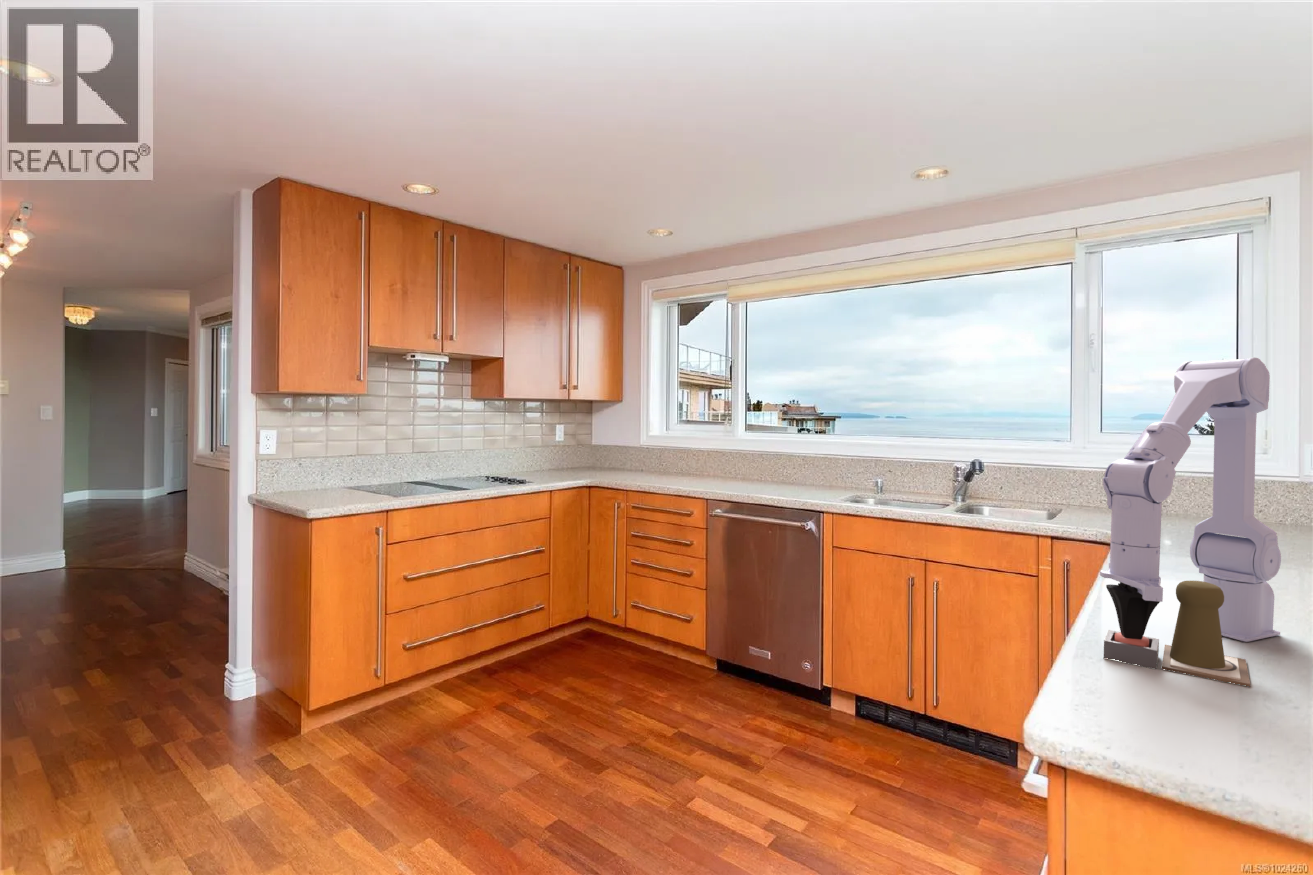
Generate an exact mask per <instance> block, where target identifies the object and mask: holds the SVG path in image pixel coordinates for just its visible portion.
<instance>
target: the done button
mask: <svg viewBox="0 0 1313 875" xmlns="http://www.w3.org/2000/svg"><path fill="white" fill-rule="evenodd" d="M1119 632H1120V633H1115V641H1116V642H1121V643H1127V644H1132V645H1137V646H1143V647H1148V648H1149V639H1148V638H1146V637H1147V636H1145V637H1144V635H1143V638H1142V639H1130V638H1125V637H1123V636H1122V634H1121V631H1119Z"/></svg>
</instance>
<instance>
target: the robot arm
mask: <svg viewBox="0 0 1313 875" xmlns="http://www.w3.org/2000/svg"><path fill="white" fill-rule="evenodd" d="M1270 377H1271V376H1270V371H1269V370H1268V367H1267V365H1266V364H1265V363H1264V362H1263V361H1262V360H1261V359H1260V358H1259V357H1248V358H1240V359H1222V360H1219V359H1218V360H1205V361H1204V360H1203V361H1191V360H1189V361H1184V362H1182V363H1181V364H1180V365H1179V367H1178V368H1177V369H1176V372H1175V374H1174V377H1173V385H1174V386H1173V387H1174V392H1175V394H1174V396H1173V397H1172V399H1171V401H1170V404H1169V405H1168V407H1167V408H1166V410H1165V413H1164V415H1163V417H1161V420H1160V421H1158V422H1152V423H1151V424H1149V425H1147V426H1146V427H1145V428H1144V430H1143V431H1142V432H1141V434H1140V436H1139V437H1138V439H1137V440H1136V441H1135V442H1134V444H1133V445H1132V447H1131V448H1130V449H1129V451H1128V452H1127V453H1126V454H1125V456H1124V458H1118V459H1116V460H1115V461H1113V462H1111V463H1110V464H1108V466H1107V467H1106V469H1105V471H1104V476H1103V478H1102V486H1103V490H1104V492H1105V494H1106V499H1107V501H1106V505H1107V508H1108V509H1109V510H1111V515H1110V516H1111V522H1110V524H1111V525H1110V549H1109V550H1110V553H1109V563H1108V570H1100V571H1099V576H1101V578H1104V579H1111V580H1114V581H1116V582H1119V583H1118V584H1112V583H1111V584H1106V585H1105V587H1106V589H1107V592H1108V593H1109V595H1110V597H1111V600H1112V603H1113V605H1114V608H1115V611H1116V616H1117V621H1118V626H1119V632H1121V634H1122V636H1123V637H1125V638H1130V639H1142V638H1143V636H1144V634H1145V632H1146V629H1147V626H1148V623H1149V620H1150V618H1151V615H1152V613H1153V612H1154V610H1155V609H1156V608H1157V606H1158V605H1159V603H1162V602H1163V599H1164V595H1163V594H1164V593H1163V592H1164V588H1163V587H1162V586H1161V579H1162V577H1161V576H1160V563H1161V560H1160V557H1161V537H1162V536H1161V532H1162V504H1163V502H1165V501H1166V500H1167V499H1168V498H1169V496H1170V495H1171V493H1172V490H1173V487H1174V485H1173V484H1174V479H1175V478H1176V474H1177V471H1176V466H1177V465H1178V464H1179V463H1180V461H1181V459H1182V458H1183V456H1184V455H1185V453H1186V452H1187V451H1188V449H1189V448H1190V446H1191V437H1190V436H1189V434H1188V433H1189V432H1190V431H1191V429H1193V428H1194V426H1195V425H1196V424H1198V422H1199V421H1200V419H1201V418H1202V417H1203V416H1204V415H1205V414H1206V413H1208V415H1209V416H1210V417H1211V418H1212V419H1213V421H1214V426H1213V427H1214V430H1213V431H1214V432H1213V438H1214V439H1213V477H1212V478H1213V480H1212V481H1213V482H1212V516H1210V517H1208V518H1205V519H1204V520H1201V521H1200V522H1198V523H1197V524H1196V525H1195V526H1194V530H1193V536H1192V540H1191V543H1190V546H1189V557H1190V559H1191V562H1192V563H1193V565H1194V566H1195V567H1196V568H1198V574H1201V575H1202V574H1203V582H1207V583H1211V584H1214V585H1217V586H1218V587H1220V588H1221V590H1222V591H1223V594H1224V602H1223V605H1222V606H1221V607H1220V608H1219V609H1218V611H1219V619H1220V627H1221V635H1222V636H1223V637H1226V638H1230V639H1234V640H1237V641H1241V642H1245V643H1246V642H1247V643H1248V642H1253V641H1257V640H1261V639H1266V638H1270V637H1275V636H1279V635H1280V636H1281V631H1279V630H1275V629H1274V613H1275V593H1274V590H1273V588H1272V586H1271V585H1270V584H1269V582H1268V581H1271V580H1273V578H1275V577H1276V576H1277V575H1278V573H1279V570H1280V567H1281V562H1282V556H1281V554H1282V553H1281V550H1280V547H1279V543H1278V536H1277V534H1278V533H1277V532H1276V531H1275V530H1274V529H1273V528H1271V527H1269V526H1268V525H1266V524H1265V523H1264V522H1261V521H1260V520H1259V519H1257V517H1256V516H1255V483H1256V480H1255V479H1256V445H1257V444H1256V443H1257V440H1256V438H1257V437H1256V436H1257V415H1258V414H1259V413H1262V412H1264V411H1266V410H1268V408H1269V401H1270V382H1271V381H1270Z"/></svg>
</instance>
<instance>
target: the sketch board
mask: <svg viewBox="0 0 1313 875" xmlns="http://www.w3.org/2000/svg"><path fill="white" fill-rule="evenodd" d="M1171 646H1172V645H1169V644H1164V649H1163V656H1162V662H1161V670H1163V669H1165V670H1164V671H1168V670H1170V671H1169V672H1173V671H1175V672H1174V673H1179V674H1183V673H1186V674H1185V675H1188V674H1190V675H1189V676H1192V675H1194V676H1193V677H1197V676H1198V678H1203V679H1207V678H1209V679H1208V680H1212V679H1215V680H1214V681H1217V680H1218V681H1217V682H1222V681H1223V682H1222V683H1227V682H1231V683H1230V684H1232V683H1235V684H1234V685H1237V684H1240V685H1239V686H1242V685H1246V686H1245V687H1247V686H1249V687H1248V688H1251V681H1250V676H1249V669H1248V666H1247V660H1246V659H1245V658H1242V657H1241V658H1240V657H1234V656H1229V655H1225V654H1224V658H1225V666H1226V667H1224V668H1220V669H1210V668H1202V667H1196V666H1192V665H1188V664H1184V663H1181V662H1179V661H1176V660H1174V659H1172V658H1171V657H1170V651H1171Z"/></svg>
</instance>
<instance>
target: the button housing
mask: <svg viewBox="0 0 1313 875" xmlns="http://www.w3.org/2000/svg"><path fill="white" fill-rule="evenodd" d="M1120 632H1121V631H1117V630H1111V629H1108V631H1107V632H1106V635H1105V637H1104V640H1103V659H1104V658H1108V659H1115V660H1119V661H1122V662H1121V663H1123V662H1126V663H1125V664H1128V663H1129V664H1128V665H1133V664H1137V665H1136V666H1138V665H1140V666H1139V667H1142V666H1143V668H1147V667H1148V668H1147V669H1152V668H1155V669H1154V670H1157V667H1158V660H1159V652H1160V650H1159V648H1160V647H1159V646H1160V639H1159V638H1156V637H1149V636H1144V635H1143V636H1144V637H1146V638H1148V639H1149V648H1148V647H1143V646H1137V645H1132V644H1127V643H1121V642H1116V641H1115V633H1120ZM1108 659H1107V660H1108Z"/></svg>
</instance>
